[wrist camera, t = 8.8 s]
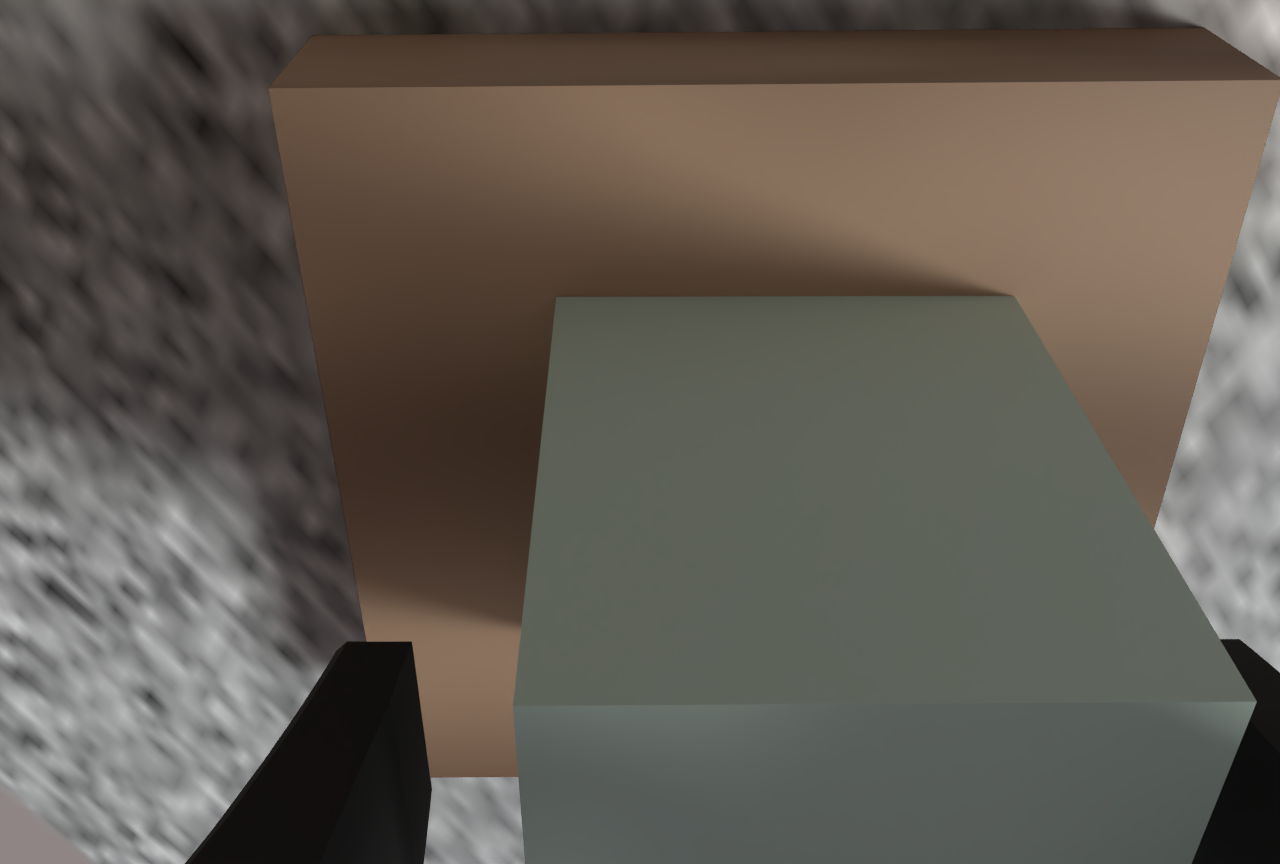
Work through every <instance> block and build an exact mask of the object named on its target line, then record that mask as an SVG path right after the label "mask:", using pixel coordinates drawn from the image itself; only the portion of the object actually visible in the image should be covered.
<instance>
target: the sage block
mask: <svg viewBox="0 0 1280 864" xmlns="http://www.w3.org/2000/svg"><path fill="white" fill-rule="evenodd" d="M1256 703H1257V701H1256V699H1255V698H1254V696H1253V694H1252V693H1251V691H1250V689H1249V688H1248V686H1247V684H1246V683H1245V681H1244V679H1243V678H1242V676H1241V674H1240V672H1239V671H1238V669H1237V667H1236V666H1235V664H1234V662H1233V661H1232V659H1231V657H1230V656H1229V654H1228V652H1227V651H1226V649H1225V647H1224V646H1223V644H1222V642H1221V641H1220V639H1219V637H1218V636H1217V634H1216V632H1215V631H1214V629H1213V627H1212V626H1211V624H1210V622H1209V621H1208V619H1207V617H1206V616H1205V614H1204V612H1203V611H1202V609H1201V607H1200V606H1199V604H1198V602H1197V601H1196V599H1195V597H1194V596H1193V594H1192V592H1191V591H1190V589H1189V587H1188V586H1187V584H1186V582H1185V580H1184V579H1183V577H1182V575H1181V574H1180V572H1179V570H1178V569H1177V567H1176V565H1175V564H1174V562H1173V560H1172V559H1171V557H1170V555H1169V554H1168V552H1167V550H1166V549H1165V547H1164V545H1163V544H1162V542H1161V540H1160V539H1159V537H1158V535H1157V534H1156V532H1155V530H1154V529H1153V527H1152V525H1151V524H1150V522H1149V520H1148V519H1147V517H1146V515H1145V514H1144V512H1143V510H1142V509H1141V507H1140V505H1139V504H1138V502H1137V500H1136V499H1135V497H1134V495H1133V494H1132V492H1131V490H1130V488H1129V487H1128V485H1127V483H1126V482H1125V480H1124V478H1123V477H1122V475H1121V473H1120V472H1119V470H1118V468H1117V467H1116V465H1115V463H1114V462H1113V460H1112V458H1111V457H1110V455H1109V453H1108V452H1107V450H1106V448H1105V447H1104V445H1103V443H1102V442H1101V440H1100V438H1099V437H1098V435H1097V433H1096V432H1095V430H1094V428H1093V427H1092V425H1091V423H1090V422H1089V420H1088V418H1087V417H1086V415H1085V413H1084V412H1083V410H1082V408H1081V407H1080V405H1079V403H1078V402H1077V400H1076V398H1075V396H1074V395H1073V393H1072V391H1071V390H1070V388H1069V386H1068V385H1067V383H1066V381H1065V380H1064V378H1063V376H1062V375H1061V373H1060V371H1059V370H1058V368H1057V366H1056V365H1055V363H1054V361H1053V360H1052V358H1051V356H1050V355H1049V353H1048V351H1047V350H1046V348H1045V346H1044V345H1043V343H1042V341H1041V340H1040V338H1039V336H1038V335H1037V333H1036V331H1035V330H1034V328H1033V326H1032V325H1031V323H1030V321H1029V320H1028V318H1027V316H1026V315H1025V313H1024V311H1023V310H1022V308H1021V306H1020V304H1019V303H1018V301H1017V299H1016V298H1015V296H698V297H556V304H555V313H554V323H553V332H552V342H551V351H550V361H549V370H548V379H547V389H546V398H545V408H544V417H543V427H542V436H541V445H540V455H539V464H538V474H537V483H536V493H535V502H534V512H533V521H532V530H531V540H530V549H529V559H528V568H527V578H526V587H525V596H524V606H523V615H522V625H521V634H520V644H519V653H518V663H517V672H516V681H515V691H514V700H513V714H514V726H515V739H516V752H517V764H518V777H519V790H520V802H521V815H522V827H523V840H524V853H525V864H1192V861H1193V859H1194V856H1195V854H1196V851H1197V849H1198V846H1199V844H1200V841H1201V839H1202V836H1203V834H1204V831H1205V829H1206V827H1207V824H1208V822H1209V819H1210V817H1211V814H1212V812H1213V809H1214V807H1215V804H1216V802H1217V799H1218V797H1219V794H1220V792H1221V789H1222V787H1223V784H1224V782H1225V780H1226V777H1227V775H1228V772H1229V770H1230V767H1231V765H1232V762H1233V760H1234V757H1235V755H1236V752H1237V750H1238V747H1239V745H1240V742H1241V740H1242V737H1243V735H1244V732H1245V730H1246V728H1247V725H1248V723H1249V720H1250V718H1251V715H1252V713H1253V710H1254V708H1255V705H1256Z"/></svg>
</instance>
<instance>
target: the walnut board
mask: <svg viewBox="0 0 1280 864" xmlns="http://www.w3.org/2000/svg"><path fill="white" fill-rule="evenodd" d="M268 91H269V97H270V102H271V108H272V114H273V119H274V125H275V131H276V136H277V142H278V147H279V153H280V159H281V164H282V170H283V176H284V181H285V187H286V192H287V198H288V204H289V209H290V215H291V220H292V226H293V232H294V237H295V243H296V249H297V254H298V260H299V265H300V271H301V277H302V282H303V288H304V294H305V299H306V305H307V310H308V316H309V322H310V327H311V333H312V338H313V344H314V350H315V355H316V361H317V367H318V372H319V378H320V383H321V389H322V395H323V400H324V406H325V412H326V417H327V423H328V428H329V434H330V440H331V445H332V451H333V456H334V462H335V468H336V473H337V479H338V485H339V490H340V496H341V501H342V507H343V513H344V518H345V524H346V530H347V535H348V541H349V546H350V552H351V558H352V563H353V569H354V574H355V580H356V586H357V591H358V597H359V603H360V608H361V614H362V619H363V625H364V631H365V636H366V642H400V641H412V645H413V653H414V660H415V668H416V675H417V683H418V690H419V698H420V705H421V712H422V720H423V727H424V735H425V742H426V750H427V757H428V765H429V772H430V778H431V777H518V764H517V752H516V739H515V726H514V714H513V700H514V691H515V681H516V672H517V663H518V653H519V644H520V634H521V625H522V615H523V606H524V596H525V587H526V578H527V568H528V559H529V549H530V540H531V530H532V521H533V512H534V502H535V493H536V483H537V474H538V464H539V455H540V445H541V436H542V427H543V417H544V408H545V398H546V389H547V379H548V370H549V361H550V351H551V342H552V332H553V323H554V313H555V304H556V297H698V296H1015V298H1016V299H1017V301H1018V303H1019V304H1020V306H1021V308H1022V310H1023V311H1024V313H1025V315H1026V316H1027V318H1028V320H1029V321H1030V323H1031V325H1032V326H1033V328H1034V330H1035V331H1036V333H1037V335H1038V336H1039V338H1040V340H1041V341H1042V343H1043V345H1044V346H1045V348H1046V350H1047V351H1048V353H1049V355H1050V356H1051V358H1052V360H1053V361H1054V363H1055V365H1056V366H1057V368H1058V370H1059V371H1060V373H1061V375H1062V376H1063V378H1064V380H1065V381H1066V383H1067V385H1068V386H1069V388H1070V390H1071V391H1072V393H1073V395H1074V396H1075V398H1076V400H1077V402H1078V403H1079V405H1080V407H1081V408H1082V410H1083V412H1084V413H1085V415H1086V417H1087V418H1088V420H1089V422H1090V423H1091V425H1092V427H1093V428H1094V430H1095V432H1096V433H1097V435H1098V437H1099V438H1100V440H1101V442H1102V443H1103V445H1104V447H1105V448H1106V450H1107V452H1108V453H1109V455H1110V457H1111V458H1112V460H1113V462H1114V463H1115V465H1116V467H1117V468H1118V470H1119V472H1120V473H1121V475H1122V477H1123V478H1124V480H1125V482H1126V483H1127V485H1128V487H1129V488H1130V490H1131V492H1132V494H1133V495H1134V497H1135V499H1136V500H1137V502H1138V504H1139V505H1140V507H1141V509H1142V510H1143V512H1144V514H1145V515H1146V517H1147V519H1148V520H1149V522H1150V524H1151V525H1152V527H1153V529H1154V527H1155V524H1156V520H1157V517H1158V513H1159V510H1160V506H1161V503H1162V499H1163V496H1164V493H1165V489H1166V486H1167V482H1168V479H1169V475H1170V472H1171V468H1172V465H1173V461H1174V458H1175V455H1176V451H1177V448H1178V444H1179V441H1180V437H1181V434H1182V430H1183V427H1184V423H1185V420H1186V417H1187V413H1188V410H1189V406H1190V403H1191V399H1192V396H1193V392H1194V389H1195V385H1196V382H1197V379H1198V375H1199V372H1200V368H1201V365H1202V361H1203V358H1204V354H1205V351H1206V347H1207V344H1208V341H1209V337H1210V334H1211V330H1212V327H1213V323H1214V320H1215V316H1216V313H1217V309H1218V306H1219V303H1220V299H1221V296H1222V292H1223V289H1224V285H1225V282H1226V278H1227V275H1228V272H1229V268H1230V265H1231V261H1232V258H1233V254H1234V251H1235V247H1236V244H1237V240H1238V237H1239V234H1240V230H1241V227H1242V223H1243V220H1244V216H1245V213H1246V209H1247V206H1248V202H1249V199H1250V196H1251V192H1252V189H1253V185H1254V182H1255V178H1256V175H1257V171H1258V168H1259V164H1260V161H1261V158H1262V154H1263V151H1264V147H1265V144H1266V140H1267V137H1268V133H1269V130H1270V126H1271V123H1272V120H1273V116H1274V113H1275V109H1276V106H1277V102H1278V99H1279V95H1280V77H1279V76H1277V75H1275V74H1274V73H1272V72H1271V71H1269V70H1268V69H1266V68H1265V67H1263V66H1262V65H1260V64H1259V63H1257V62H1256V61H1254V60H1253V59H1251V58H1250V57H1248V56H1247V55H1245V54H1244V53H1242V52H1241V51H1239V50H1237V49H1236V48H1234V47H1233V46H1231V45H1230V44H1228V43H1227V42H1225V41H1224V40H1222V39H1221V38H1219V37H1218V36H1216V35H1215V34H1213V33H1212V32H1210V31H1209V30H1207V29H1206V28H1204V27H1203V28H1089V29H974V30H859V31H744V32H629V33H514V34H399V35H312V36H311V37H310V38H309V40H308V41H307V42H306V43H305V44H304V46H303V47H302V48H301V49H300V50H299V52H298V53H297V54H296V55H295V56H294V58H293V59H292V60H291V61H290V62H289V64H288V65H287V66H286V67H285V68H284V70H283V71H282V72H281V73H280V74H279V76H278V77H277V78H276V79H275V80H274V82H273V83H272V84H271V85H270V86H269V88H268Z"/></svg>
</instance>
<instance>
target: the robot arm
mask: <svg viewBox="0 0 1280 864" xmlns="http://www.w3.org/2000/svg"><path fill="white" fill-rule="evenodd" d="M1220 641H1221V642H1222V644H1223V646H1224V647H1225V649H1226V651H1227V652H1228V654H1229V656H1230V657H1231V659H1232V661H1233V662H1234V664H1235V666H1236V667H1237V669H1238V671H1239V672H1240V674H1241V676H1242V678H1243V679H1244V681H1245V683H1246V684H1247V686H1248V688H1249V689H1250V691H1251V693H1252V694H1253V696H1254V698H1255V699H1256V701H1257V703H1256V705H1255V708H1254V710H1253V713H1252V715H1251V718H1250V720H1249V723H1248V725H1247V728H1246V730H1245V732H1244V735H1243V737H1242V740H1241V742H1240V745H1239V747H1238V750H1237V752H1236V755H1235V757H1234V760H1233V762H1232V765H1231V767H1230V770H1229V772H1228V775H1227V777H1226V780H1225V782H1224V784H1223V787H1222V789H1221V792H1220V794H1219V797H1218V799H1217V802H1216V804H1215V807H1214V809H1213V812H1212V814H1211V817H1210V819H1209V822H1208V824H1207V827H1206V829H1205V831H1204V834H1203V836H1202V839H1201V841H1200V844H1199V846H1198V849H1197V851H1196V854H1195V856H1194V859H1193V861H1192V864H1280V673H1279V672H1278V671H1277V670H1276V669H1275V668H1273V667H1272V666H1271V665H1270V664H1269V663H1268V662H1266V661H1265V660H1264V659H1263V658H1262V657H1260V656H1259V655H1258V654H1257V653H1256V652H1254V651H1253V650H1252V649H1251V648H1249V647H1248V646H1247V645H1246V644H1245V643H1243V642H1242V641H1241V640H1240V639H1220ZM431 792H432V787H431V779H430V772H429V765H428V757H427V750H426V742H425V735H424V727H423V720H422V712H421V705H420V698H419V690H418V683H417V675H416V668H415V660H414V653H413V645H412V641H400V642H346V643H345V644H344V645H343V646H342V647H341V648H339V649H338V650H337V651H336V653H335V654H334V656H333V658H332V659H331V661H330V663H329V664H328V666H327V667H326V669H325V671H324V672H323V674H322V675H321V677H320V678H319V680H318V682H317V683H316V685H315V686H314V688H313V689H312V691H311V692H310V694H309V696H308V697H307V699H306V700H305V702H304V703H303V705H302V706H301V708H300V709H299V711H298V712H297V714H296V715H295V717H294V718H293V720H292V721H291V723H290V724H289V725H288V727H287V728H286V730H285V731H284V733H283V734H282V735H281V737H280V738H279V740H278V741H277V743H276V744H275V746H274V747H273V748H272V750H271V751H270V753H269V754H268V756H267V757H266V758H265V760H264V761H263V763H262V764H261V765H260V767H259V768H258V769H257V771H256V772H255V773H254V775H253V776H252V777H251V779H250V780H249V781H248V783H247V784H246V785H245V787H244V788H243V790H242V791H241V792H240V794H239V795H238V796H237V798H236V799H235V800H234V802H233V803H232V804H231V806H230V807H229V808H228V810H227V811H226V812H225V814H224V815H223V817H222V818H221V819H220V821H219V822H218V823H217V824H216V826H215V827H214V828H213V830H212V831H211V832H210V833H209V835H208V836H207V837H206V839H205V840H204V841H203V842H202V843H201V845H200V846H199V847H198V848H197V850H196V851H195V852H194V853H193V854H192V856H191V857H190V858H189V859H188V860H187V862H186V863H185V864H423V863H424V855H425V847H426V838H427V829H428V819H429V810H430V801H431Z"/></svg>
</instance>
